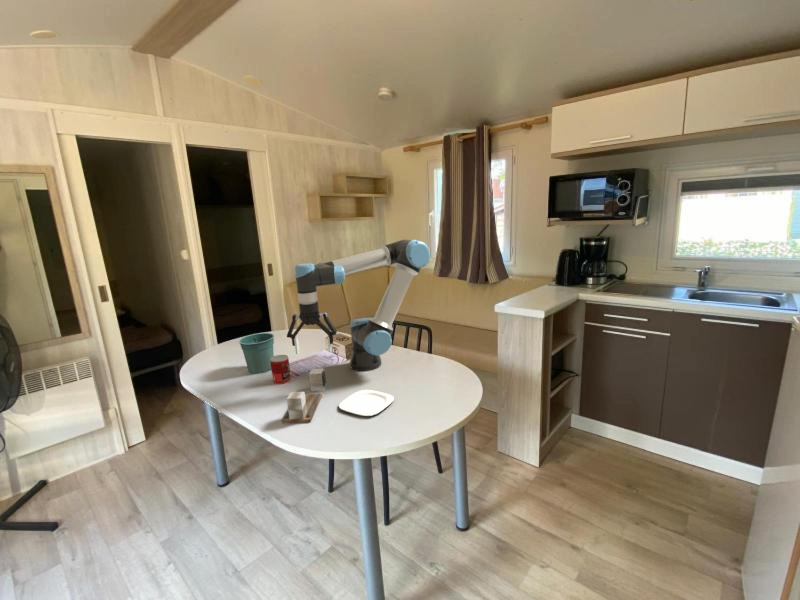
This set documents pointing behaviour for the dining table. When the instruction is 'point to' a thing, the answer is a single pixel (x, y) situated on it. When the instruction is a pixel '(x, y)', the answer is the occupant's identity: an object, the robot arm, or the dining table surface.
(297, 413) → the rail board
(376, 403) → the plate
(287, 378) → the canned food
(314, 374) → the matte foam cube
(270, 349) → the flower pot
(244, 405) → the dining table surface
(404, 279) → the robot arm
